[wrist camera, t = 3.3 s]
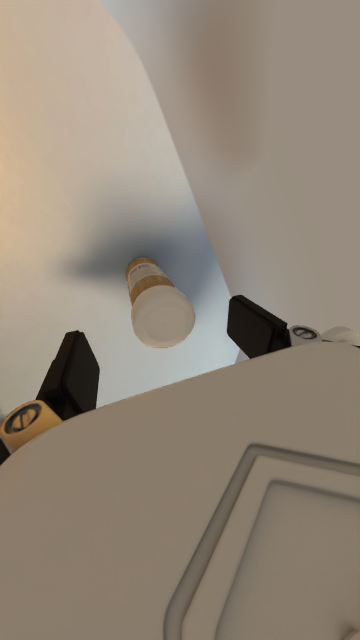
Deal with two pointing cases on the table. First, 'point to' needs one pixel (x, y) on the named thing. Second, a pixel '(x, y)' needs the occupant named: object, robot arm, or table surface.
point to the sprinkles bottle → (157, 306)
